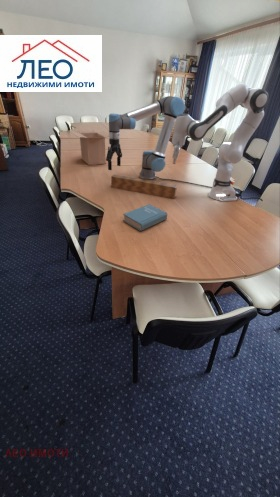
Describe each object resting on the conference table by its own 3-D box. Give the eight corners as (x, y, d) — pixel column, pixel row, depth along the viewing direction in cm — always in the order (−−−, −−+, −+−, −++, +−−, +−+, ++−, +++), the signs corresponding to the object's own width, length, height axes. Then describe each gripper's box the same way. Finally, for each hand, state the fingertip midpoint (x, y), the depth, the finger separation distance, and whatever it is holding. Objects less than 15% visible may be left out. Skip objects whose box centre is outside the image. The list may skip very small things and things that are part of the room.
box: (116, 165, 229) (116, 136, 213) (83, 168, 214) (80, 137, 198) (102, 154, 259) (101, 128, 243) (71, 156, 244) (68, 129, 228)
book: (148, 210, 150) (149, 204, 147) (166, 220, 141) (167, 213, 138) (123, 221, 137) (123, 213, 134) (141, 231, 128) (142, 224, 125)
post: (111, 187, 181) (111, 176, 176) (113, 184, 185) (113, 174, 180) (173, 198, 170) (175, 187, 165) (175, 196, 174) (177, 185, 169)
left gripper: (109, 141, 152) (110, 172, 164) (126, 136, 170) (126, 164, 183) (100, 140, 154) (101, 170, 167) (118, 135, 172) (118, 163, 185)
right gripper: (182, 144, 142) (178, 166, 150) (183, 139, 158) (179, 159, 166) (172, 143, 142) (168, 165, 150) (174, 138, 159) (171, 158, 167)
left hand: (114, 167), depth 175 cm, fingers open, 13 cm apart
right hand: (174, 162), depth 158 cm, fingers open, 8 cm apart
